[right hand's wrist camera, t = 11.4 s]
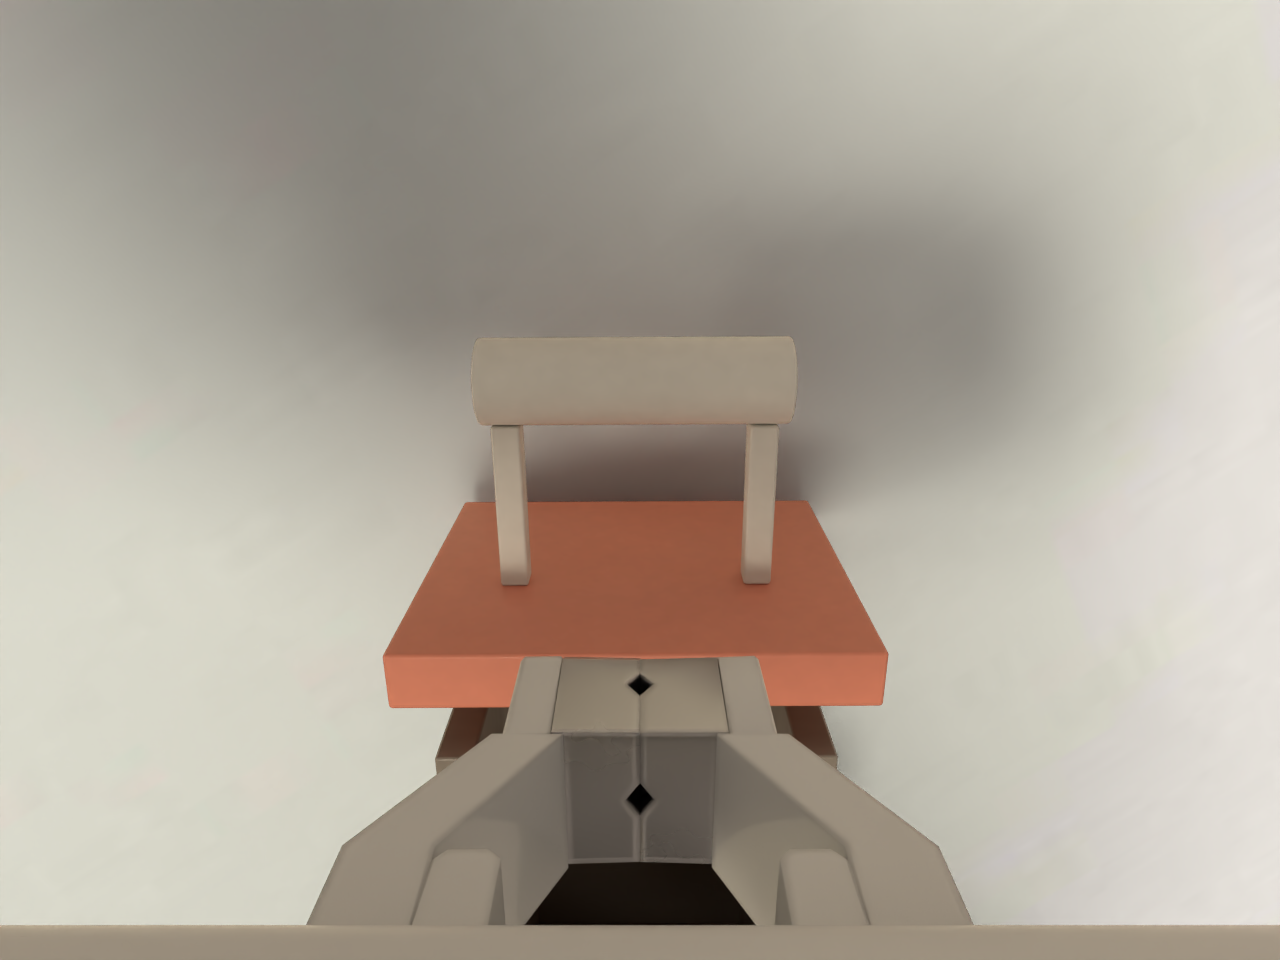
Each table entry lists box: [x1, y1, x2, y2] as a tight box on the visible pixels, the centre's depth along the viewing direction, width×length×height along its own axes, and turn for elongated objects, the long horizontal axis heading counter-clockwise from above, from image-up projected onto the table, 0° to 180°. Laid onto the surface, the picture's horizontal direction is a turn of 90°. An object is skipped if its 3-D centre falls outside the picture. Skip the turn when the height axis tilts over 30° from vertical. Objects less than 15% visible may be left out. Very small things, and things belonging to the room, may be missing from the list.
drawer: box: [383, 336, 888, 925], centre depth 21 cm, size 20×10×8 cm, turn 0°
